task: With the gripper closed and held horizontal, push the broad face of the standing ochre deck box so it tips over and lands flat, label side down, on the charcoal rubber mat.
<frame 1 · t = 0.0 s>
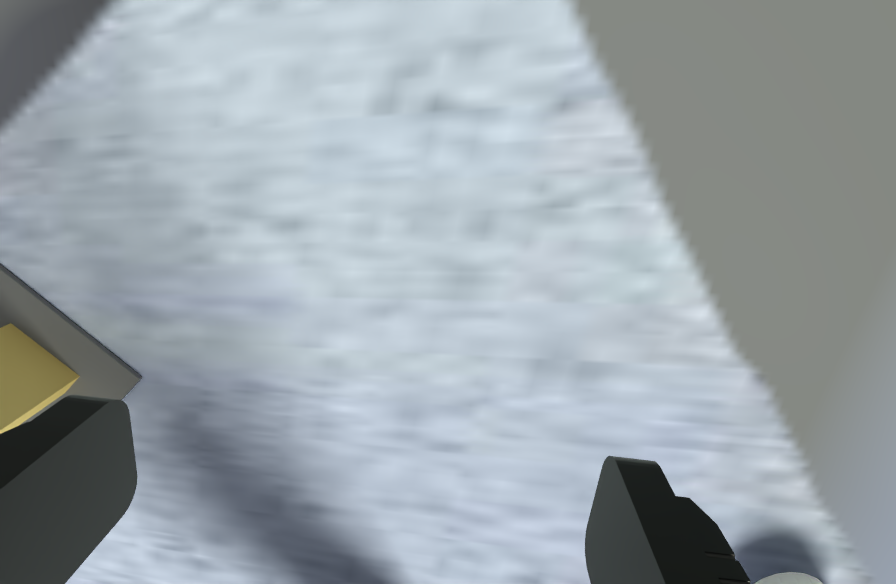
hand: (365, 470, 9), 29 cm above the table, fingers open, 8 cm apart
mat: (9, 393, 44), on the table
deck box: (38, 359, 42), resting on mat
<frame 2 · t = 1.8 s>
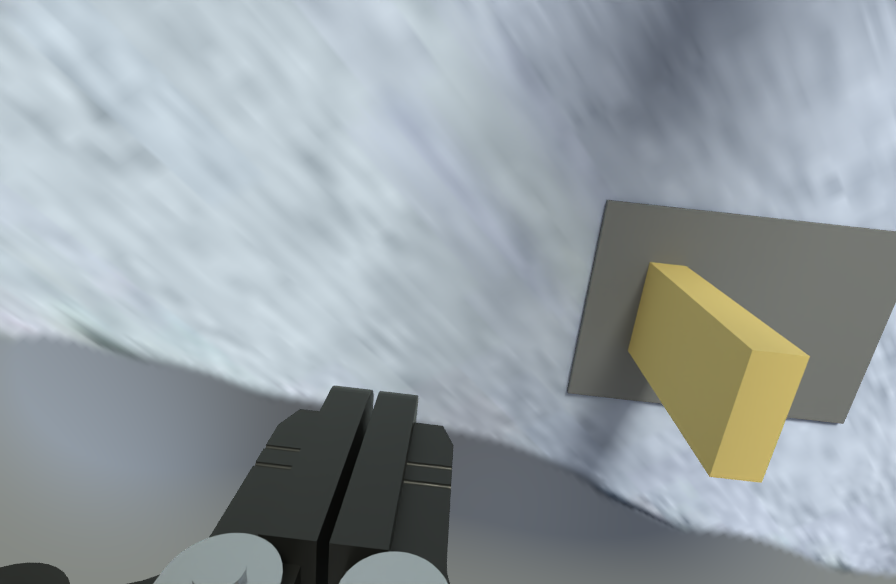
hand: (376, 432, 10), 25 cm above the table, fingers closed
mat: (730, 317, 35), on the table
deck box: (656, 309, 35), resting on mat
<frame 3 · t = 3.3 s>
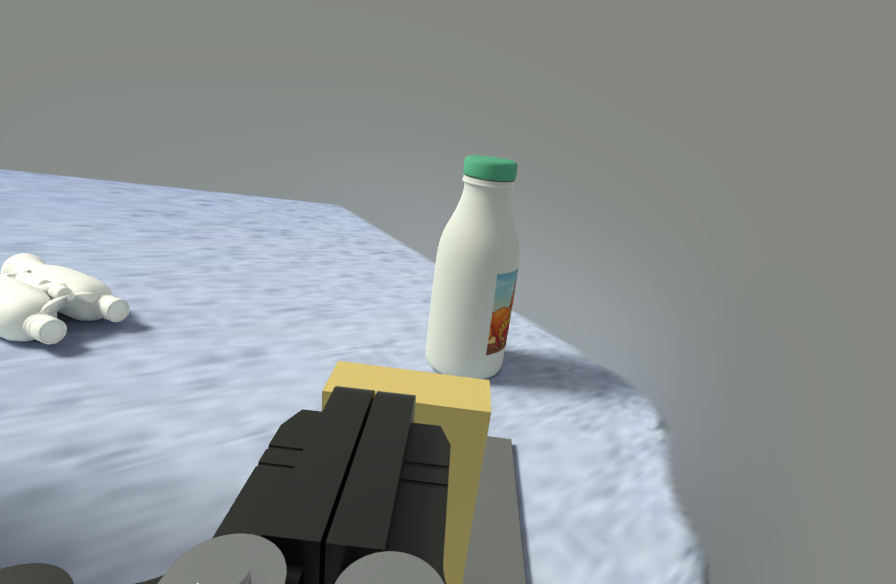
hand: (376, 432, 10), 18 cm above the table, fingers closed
milk bottle: (462, 364, 51), on the table
binoculars: (38, 321, 50), on the table
mat: (403, 534, 30), on the table
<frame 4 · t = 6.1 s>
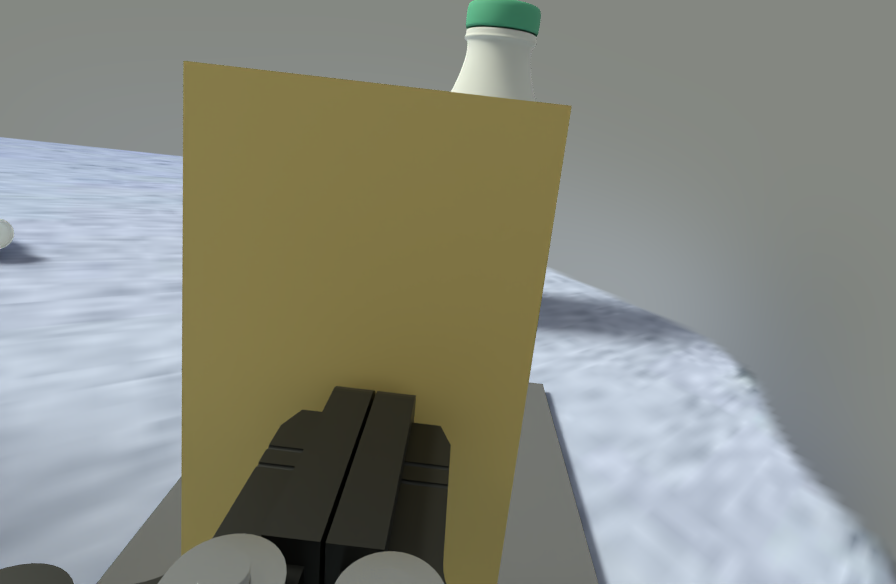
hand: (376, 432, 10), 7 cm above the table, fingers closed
milk bottle: (466, 305, 39), on the table
mat: (379, 515, 18), on the table
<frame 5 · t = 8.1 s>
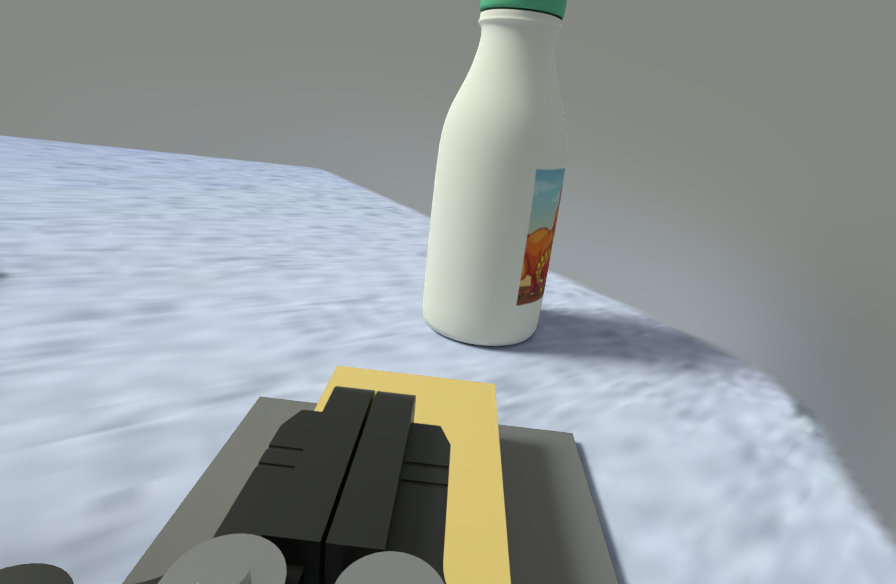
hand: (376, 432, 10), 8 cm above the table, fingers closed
milk bottle: (478, 326, 34), on the table
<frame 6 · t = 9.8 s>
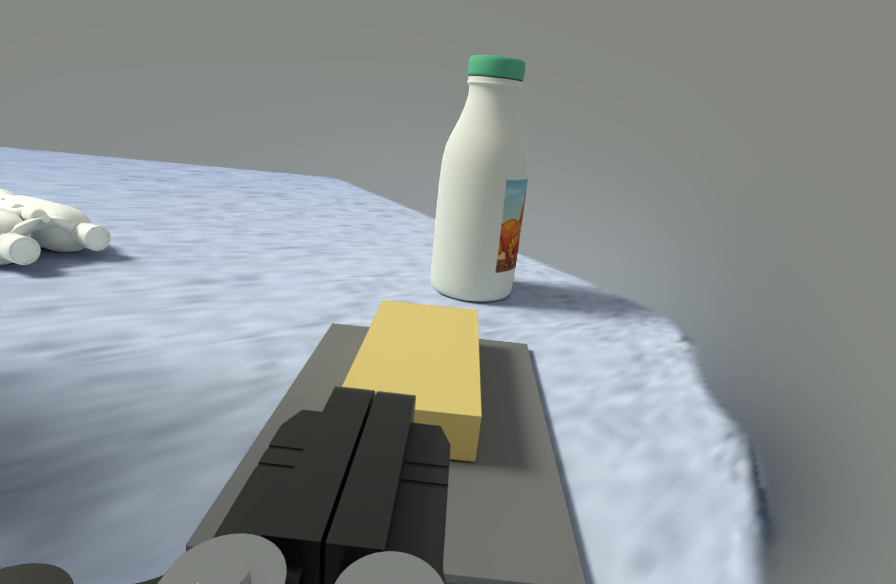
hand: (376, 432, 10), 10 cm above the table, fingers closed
milk bottle: (470, 291, 48), on the table
binoculars: (11, 253, 47), on the table
mat: (414, 416, 27), on the table
deck box: (406, 431, 23), point 2 cm above the table, tilted 90°, touching mat
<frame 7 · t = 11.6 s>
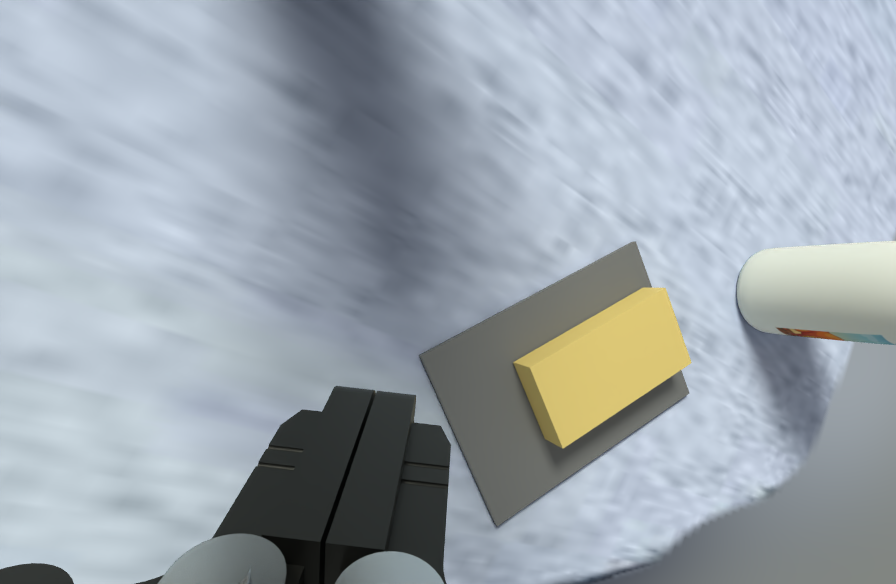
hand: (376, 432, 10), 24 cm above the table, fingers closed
milk bottle: (761, 290, 47), on the table
mat: (566, 375, 40), on the table
deck box: (537, 404, 37), point 2 cm above the table, tilted 90°, touching mat
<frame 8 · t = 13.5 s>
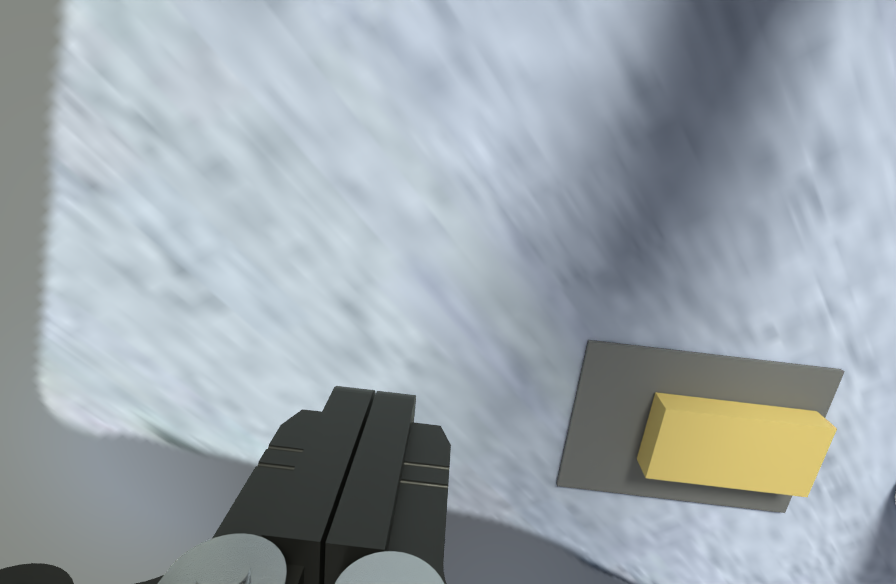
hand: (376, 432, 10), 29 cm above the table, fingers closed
mat: (690, 429, 43), on the table
deck box: (650, 435, 41), point 2 cm above the table, tilted 90°, touching mat
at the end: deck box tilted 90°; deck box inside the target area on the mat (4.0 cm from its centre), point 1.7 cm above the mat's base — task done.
